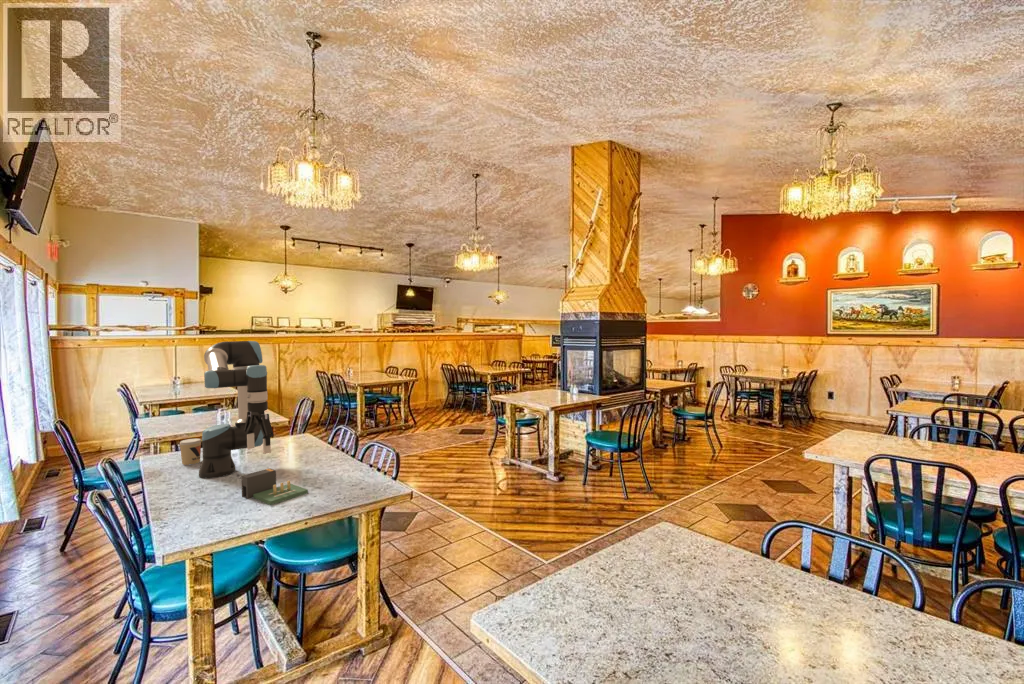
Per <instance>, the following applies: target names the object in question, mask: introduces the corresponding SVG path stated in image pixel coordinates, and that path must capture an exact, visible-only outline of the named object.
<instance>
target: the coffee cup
mask: <svg viewBox="0 0 1024 684" xmlns="http://www.w3.org/2000/svg"><path fill="white" fill-rule="evenodd" d="M179 447H180V449H179V450H180V456H181V464H184V465H183V466H190V465H189V464H193V465H197V464H199V463H200V462H201V454H202V453H201V451H202V450H201V449H202V438H188V439H183V440H180V442H179ZM196 463H197V464H196Z"/></svg>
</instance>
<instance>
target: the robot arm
mask: <svg viewBox="0 0 1024 684" xmlns="http://www.w3.org/2000/svg"><path fill="white" fill-rule="evenodd" d="M203 360H204V362H205V365H207V369H208V370H206V371H204V381H203V382H204V388H205V389H220V388H222V389H223V388H224V389H225V388H233V387H234V388H235V387H237V412H238V413H237V414H238V417H237V419H236V420H235V422H234V425H233V426H231V424H230V423H222V424H221V423H220V424H216V425H212V426H209V427H207V428H205V429H204V430H203V431H202V435H201V445H202V460H201V461H202V462H201V464H200V468H199V469H198V477H199V478H201V479H215V478H221V477H225V476H228V475H231V474H234V473H235V472H236V464H235V462H234V460H233V458H232V451H236V450H243V449H247V450H251V449H255V448H256V447H260V446H262V451H263V453H262V454H263V455H266V454H270V453H271V452H272V450H271V446H272V445H271V438H272V437H274V431H273V428H272V424H271V421H270V414H269V413H265V411H267V410H268V408H269V407H268V406H269V405H268V403H269V402H268V397H269V396H268V371H267V370H268V369H267V366H266V365H265V364H262V363H263V352H262V347H261V346H260V343H259V342H258V341H256V340H241V341H236V340H235V341H220V342H217V343H215V344H212V345H211V346H210V347H209V348H207V350H206V351H205V353H204V355H203ZM228 365H229V366H230V365H232V369H229V366H228Z"/></svg>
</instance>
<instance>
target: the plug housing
mask: <svg viewBox="0 0 1024 684" xmlns="http://www.w3.org/2000/svg"><path fill="white" fill-rule="evenodd" d="M240 478H241V498H244V497H246V500H249V499H254V498H253V494H256V493H259V492H263V491H266V490H269V489H273V485H276V486H277V470H276V469H273V468H271V467H270V468H266V469H261V470H257V471H254V472H250V473H247V474H242V475H241V476H240Z"/></svg>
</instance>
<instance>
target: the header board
mask: <svg viewBox="0 0 1024 684" xmlns="http://www.w3.org/2000/svg"><path fill="white" fill-rule="evenodd" d="M286 481H287V483H286V484H285V483H284V482H280V486H277V484H276V485H273V489H269V490H266V491H263V492H259V493H256V494H253V498H252V499H255V500H258V501H259V502H262V503H265V504H267V505H269V506H272V505H275V504H278V503H281V502H284V501H287V500H291V499H293V498H296V497H300V496H303V495H306V494H309V489H308V488H304V487H301V486H299V485H296V484H293V483H291V480H286Z"/></svg>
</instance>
